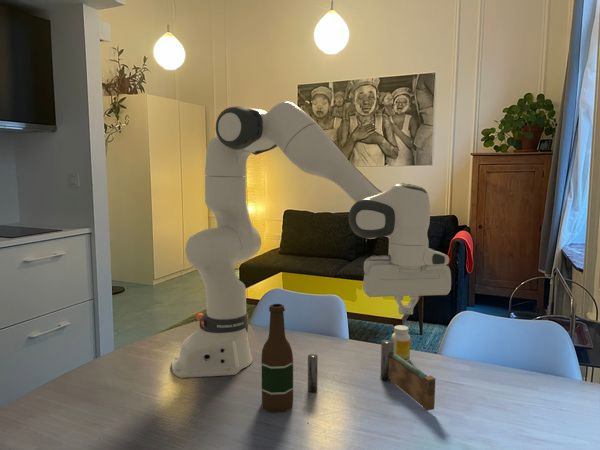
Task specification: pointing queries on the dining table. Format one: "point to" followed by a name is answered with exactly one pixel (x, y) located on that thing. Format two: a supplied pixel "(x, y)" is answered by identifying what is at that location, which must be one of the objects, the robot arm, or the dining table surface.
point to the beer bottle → (277, 365)
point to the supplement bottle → (401, 342)
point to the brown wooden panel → (412, 381)
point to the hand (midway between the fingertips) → (405, 313)
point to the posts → (386, 348)
